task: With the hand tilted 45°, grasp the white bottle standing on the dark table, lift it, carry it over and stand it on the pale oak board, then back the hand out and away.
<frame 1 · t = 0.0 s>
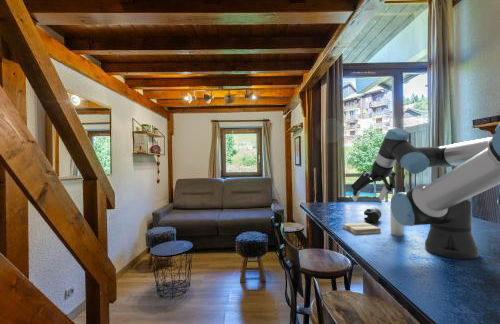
hand: (367, 199, 116), 15 cm above the table, tool tilted 35°, fingers open, 13 cm apart
oak board: (361, 230, 119), on the table
white bottle: (397, 233, 112), on the table
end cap: (373, 222, 134), on the table
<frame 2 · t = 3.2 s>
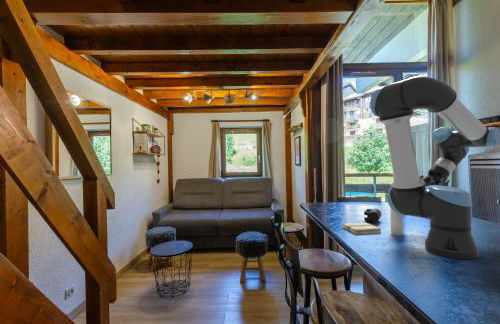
hand: (412, 203, 113), 13 cm above the table, tool tilted 45°, fingers open, 13 cm apart
nothing on the table moved.
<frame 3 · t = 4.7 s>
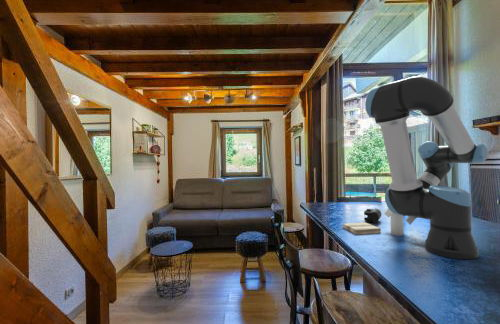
hand: (396, 218, 112), 7 cm above the table, tool tilted 45°, fingers open, 13 cm apart
nothing on the table moved.
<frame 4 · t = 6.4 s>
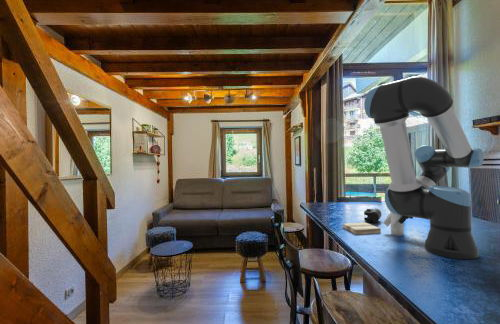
hand: (389, 226, 112), 4 cm above the table, tool tilted 45°, fingers closed on white bottle, 5 cm apart
white bottle: (397, 233, 112), on the table, touching gripper
everything else where it was.
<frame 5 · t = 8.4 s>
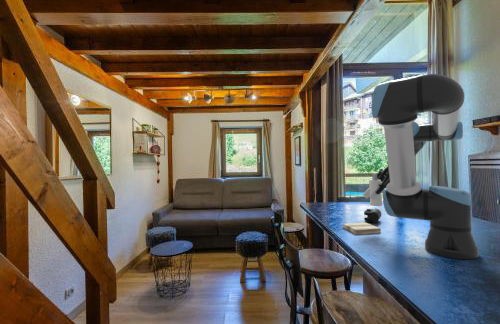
hand: (368, 197, 118), 16 cm above the table, tool tilted 45°, fingers closed on white bottle, 5 cm apart
white bottle: (376, 204, 119), point 12 cm above the table, touching gripper
everything else where it was.
when the fingers open (7 cm above the table, at t = 10.8 s): white bottle drops 1 cm, resting on oak board.
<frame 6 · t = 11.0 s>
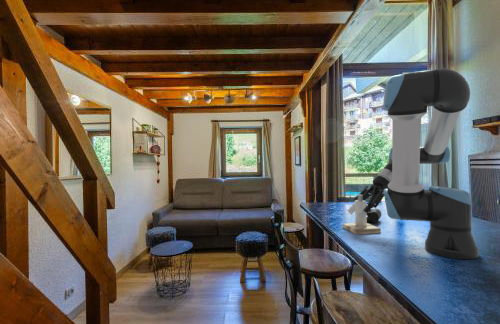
hand: (354, 214, 119), 8 cm above the table, tool tilted 45°, fingers open, 8 cm apart
white bottle: (361, 225, 119), point 2 cm above the table, touching oak board
everything else where it was.
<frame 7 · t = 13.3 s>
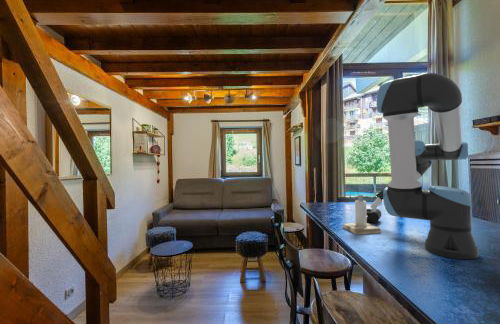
hand: (380, 211, 121), 9 cm above the table, tool tilted 45°, fingers open, 13 cm apart
nothing on the table moved.
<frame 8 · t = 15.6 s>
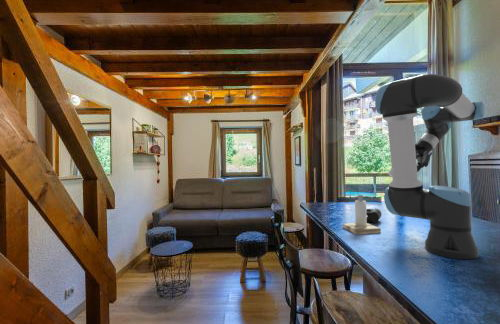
hand: (398, 175, 122), 26 cm above the table, tool tilted 45°, fingers open, 13 cm apart
nothing on the table moved.
at the end: white bottle inside the target area on the oak board (0.1 cm from its centre), point 2.0 cm above the oak board's base; white bottle tilted 0°; the gripper is holding nothing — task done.
